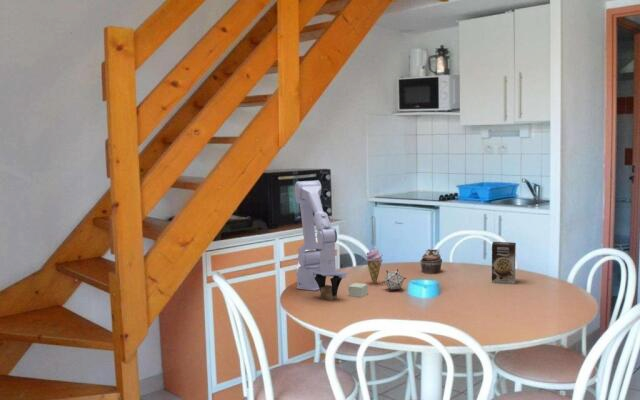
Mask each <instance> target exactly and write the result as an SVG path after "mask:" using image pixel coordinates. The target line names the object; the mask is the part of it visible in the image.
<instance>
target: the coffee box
mask: <svg viewBox="0 0 640 400" xmlns="http://www.w3.org/2000/svg"><path fill="white" fill-rule="evenodd" d="M516 244H517V243H516V242H510V241H509V242H506V241H493V242H492V243H491V283H492V284H493V283H494V284H509V285H515V283H516V257H517V255H516V253H517V252H516V249H517V248H516V247H517V245H516Z"/></svg>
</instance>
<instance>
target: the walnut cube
mask: <svg viewBox="0 0 640 400" xmlns="http://www.w3.org/2000/svg"><path fill="white" fill-rule="evenodd" d="M337 298H338V294H337V295H336V296H333V294H332V284H325V286H323V287H321V292H320V300H323V301H325V300H326V301H333V300H335V299H337Z"/></svg>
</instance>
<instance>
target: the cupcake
mask: <svg viewBox="0 0 640 400" xmlns="http://www.w3.org/2000/svg"><path fill="white" fill-rule="evenodd" d="M419 262H420V267H421V271H422V273H424V274H427V275H428V274H429V275H434V274H435V275H436V274H440V272H441V268H442V264H443V260H442V258H441V255H440V254H439V250H438V249H430V248H428V249H426V250H425V253H424V254H423V255H422V258H421V260H420V261H419Z"/></svg>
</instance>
